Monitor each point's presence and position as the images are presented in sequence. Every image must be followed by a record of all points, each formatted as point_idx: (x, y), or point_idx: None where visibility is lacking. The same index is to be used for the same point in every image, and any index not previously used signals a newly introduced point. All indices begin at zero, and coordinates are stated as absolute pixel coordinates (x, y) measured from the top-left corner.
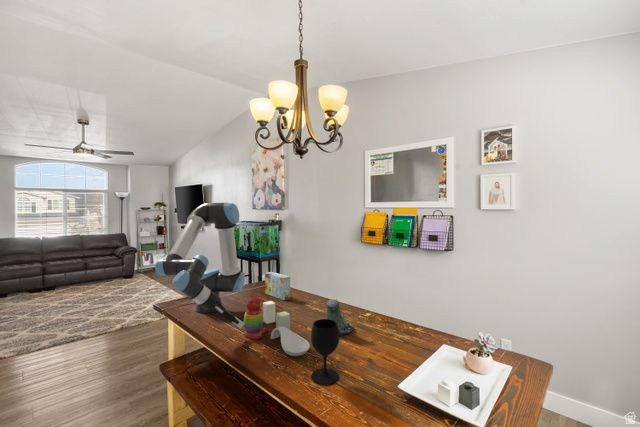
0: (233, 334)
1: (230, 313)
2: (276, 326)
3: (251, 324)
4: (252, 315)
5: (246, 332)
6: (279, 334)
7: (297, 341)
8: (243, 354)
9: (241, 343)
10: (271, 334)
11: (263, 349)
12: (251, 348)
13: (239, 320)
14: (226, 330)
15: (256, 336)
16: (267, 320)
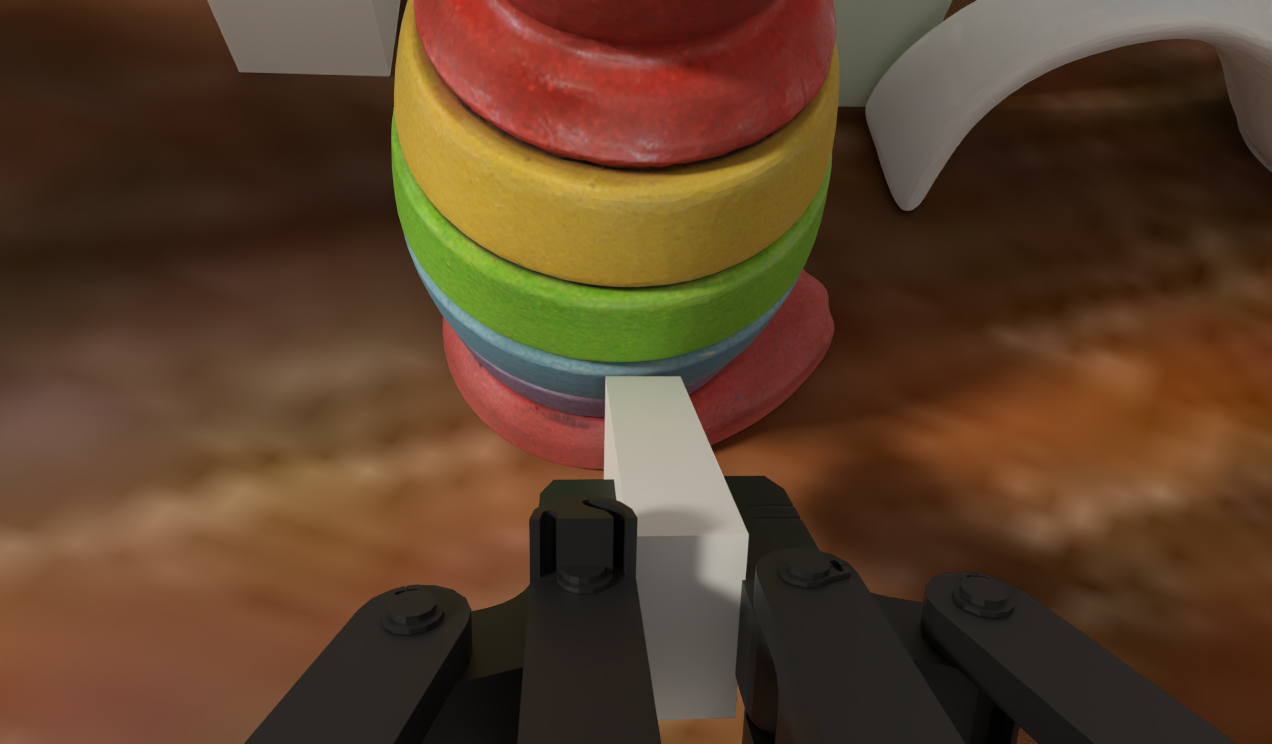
0: None
1: (646, 657)
2: None
3: (796, 274)
4: (827, 109)
5: None
6: (871, 88)
7: (1264, 23)
8: (1257, 708)
9: None
10: (943, 159)
11: (1169, 394)
12: (1089, 527)
13: (704, 447)
14: (124, 703)
15: (826, 338)
16: (380, 26)
